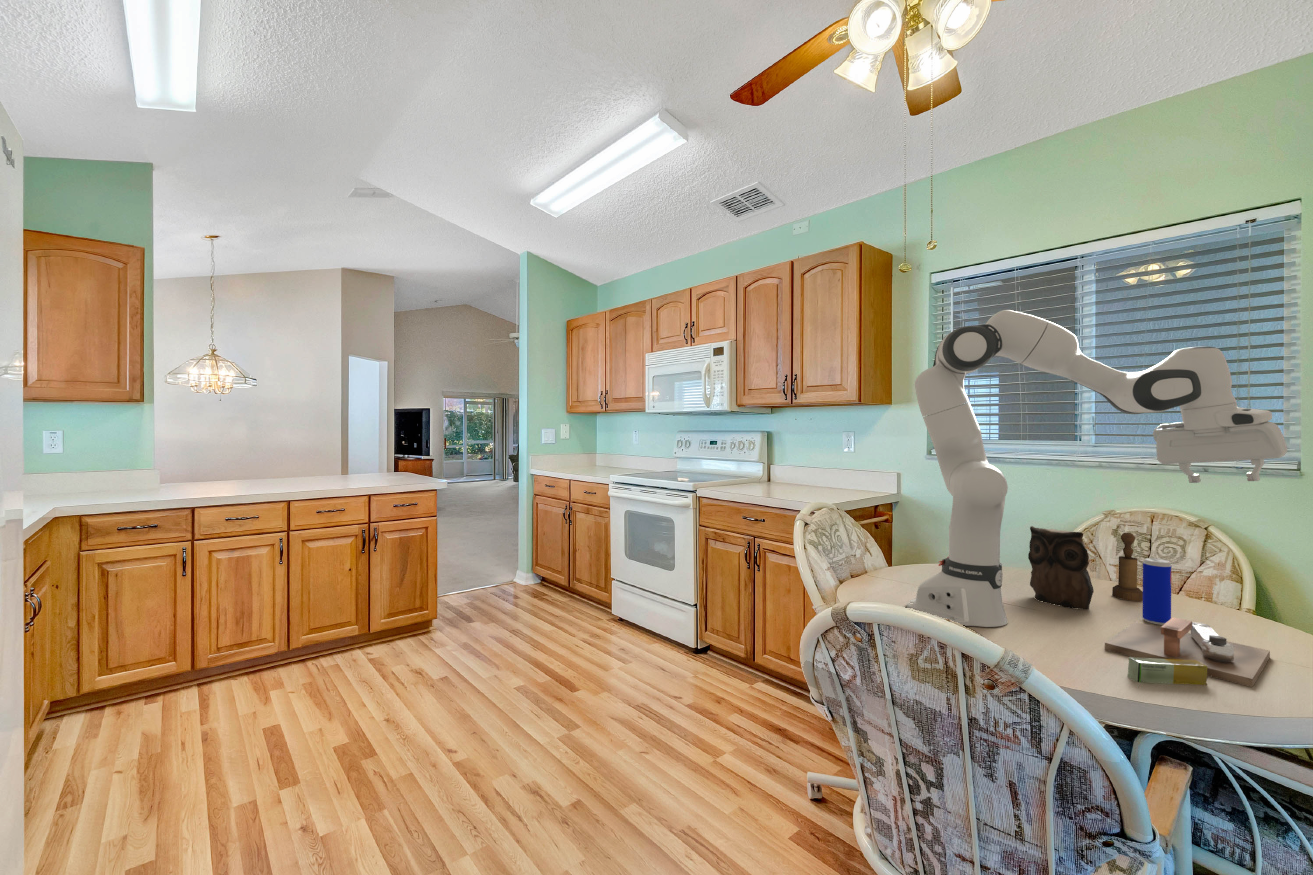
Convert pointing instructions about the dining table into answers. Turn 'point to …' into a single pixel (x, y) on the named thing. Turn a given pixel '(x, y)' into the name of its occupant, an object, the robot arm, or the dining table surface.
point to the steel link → (1210, 649)
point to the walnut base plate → (1188, 650)
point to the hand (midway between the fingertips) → (1223, 481)
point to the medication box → (1167, 671)
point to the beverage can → (1156, 591)
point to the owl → (1060, 568)
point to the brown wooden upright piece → (1127, 573)
